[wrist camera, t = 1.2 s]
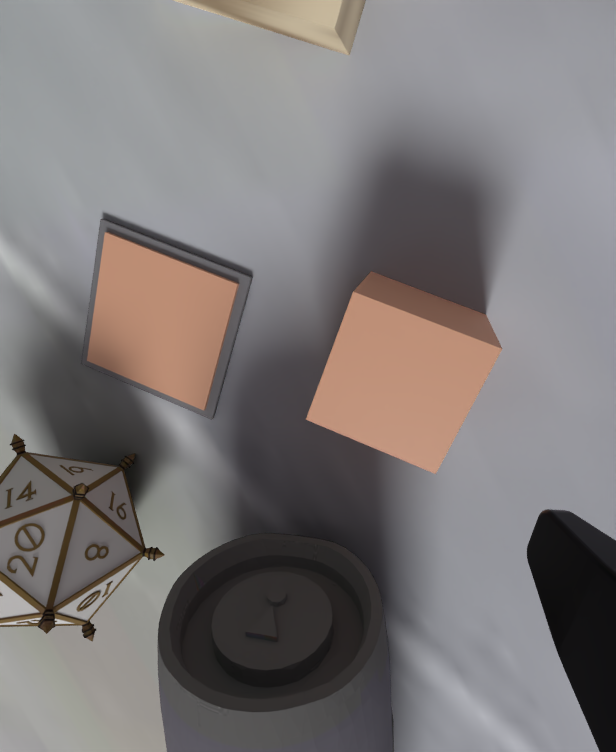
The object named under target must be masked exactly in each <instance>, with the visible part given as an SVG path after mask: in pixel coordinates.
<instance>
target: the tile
mask: <svg viewBox="0 0 616 752" xmlns="http://www.w3.org/2000/svg"><path fill="white" fill-rule="evenodd" d="M252 278H253V277H251V276H249V275H246V274H244V273H241V272H239V271H236V270H233V269H231V268H228V267H226V266H223V265H221V264H218V263H215V262H213V261H210V260H208V259H205V258H203V257H200V256H198V255H195V254H192V253H190V252H187V251H185V250H182V249H180V248H177V247H175V246H172V245H169V244H167V243H164V242H162V241H159V240H157V239H154V238H151V237H149V236H146V235H144V234H141V233H139V232H136V231H134V230H131V229H128V228H126V227H123V226H121V225H118V224H116V223H113V222H111V221H108V220H105V219H101V221H100V228H99V235H98V243H97V250H96V258H95V265H94V273H93V280H92V287H91V295H90V302H89V310H88V317H87V324H86V332H85V339H84V347H83V354H82V362H81V364H83V365H85V366H88V367H90V368H92V369H95V370H97V371H99V372H102V373H104V374H106V375H109V376H111V377H113V378H116V379H118V380H120V381H123V382H125V383H127V384H130V385H132V386H134V387H137V388H139V389H141V390H144V391H146V392H148V393H151V394H153V395H155V396H158V397H160V398H162V399H165V400H167V401H169V402H172V403H174V404H176V405H179V406H181V407H183V408H186V409H188V410H190V411H193V412H195V413H197V414H200V415H202V416H204V417H207V418H209V419H211V420H212V419H213V418H214V415H215V412H216V408H217V404H218V401H219V397H220V393H221V390H222V386H223V383H224V379H225V375H226V372H227V368H228V365H229V361H230V357H231V354H232V350H233V346H234V343H235V339H236V336H237V332H238V328H239V325H240V321H241V318H242V314H243V310H244V307H245V303H246V300H247V296H248V292H249V289H250V285H251V281H252Z"/></svg>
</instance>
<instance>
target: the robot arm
mask: <svg viewBox="0 0 616 752" xmlns="http://www.w3.org/2000/svg"><path fill="white" fill-rule="evenodd" d="M527 559H528V563H529V566H530V569H531V572H532V576H533V579H534V582H535V585H536V588H537V591H538V594H539V597H540V601H541V604H542V607H543V610H544V613H545V616H546V619H547V622H548V626H549V629H550V632H551V635H552V638H553V641H554V644H555V646H556V649H557V652H558V655H559V657H560V660H561V662H562V665H563V667H564V669H565V672H566V674H567V676H568V679H569V681H570V683H571V686H572V688H573V690H574V693H575V695H576V697H577V700H578V702H579V704H580V707H581V709H582V711H583V714H584V716H585V718H586V721H587V723H588V725H589V728H590V730H591V732H592V735H593V737H594V739H595V742H596V744H597V746H598V749H599V751H600V752H616V541H615V540H614V539H612V538H611V537H609V536H608V535H606V534H605V533H603V532H601V531H600V530H598V529H597V528H595V527H594V526H592V525H591V524H589V523H587V522H586V521H584V520H583V519H581V518H580V517H578V516H576V515H575V514H573V513H572V512H569V511H565V510H549V509H548V510H544V511H542V512H541V513H540V515H539V517H538V519H537V522H536V525H535V527H534V530H533V533H532V535H531V538H530V541H529V543H528V547H527Z"/></svg>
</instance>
